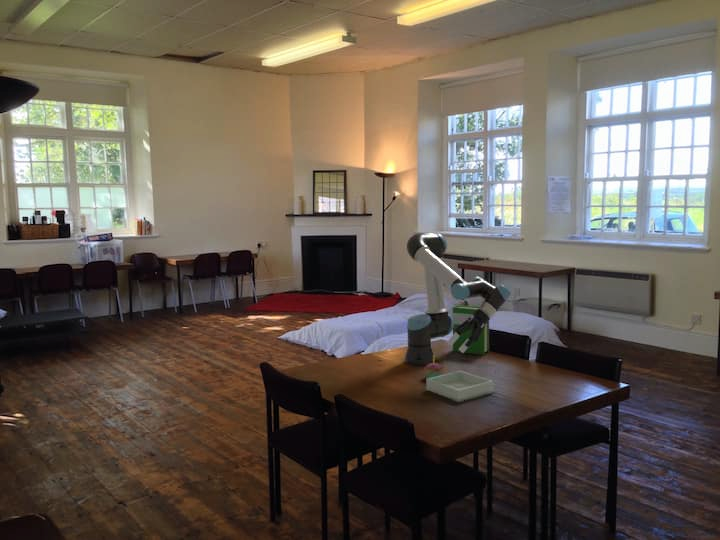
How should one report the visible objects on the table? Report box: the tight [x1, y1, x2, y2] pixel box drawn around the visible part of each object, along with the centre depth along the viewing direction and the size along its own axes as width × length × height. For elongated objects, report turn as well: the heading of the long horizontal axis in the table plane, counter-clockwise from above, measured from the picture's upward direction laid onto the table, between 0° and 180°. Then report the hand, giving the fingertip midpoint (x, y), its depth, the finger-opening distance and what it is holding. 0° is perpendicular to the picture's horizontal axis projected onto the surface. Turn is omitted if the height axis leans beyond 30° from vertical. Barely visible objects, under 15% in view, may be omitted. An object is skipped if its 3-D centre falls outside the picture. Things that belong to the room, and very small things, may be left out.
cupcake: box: [424, 353, 444, 378], centre depth 280 cm, size 9×8×12 cm
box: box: [425, 370, 494, 403], centre depth 261 cm, size 20×20×5 cm
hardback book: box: [452, 304, 490, 356], centre depth 327 cm, size 18×7×24 cm, turn 58°
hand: (454, 347), depth 281 cm, fingers open, 13 cm apart
